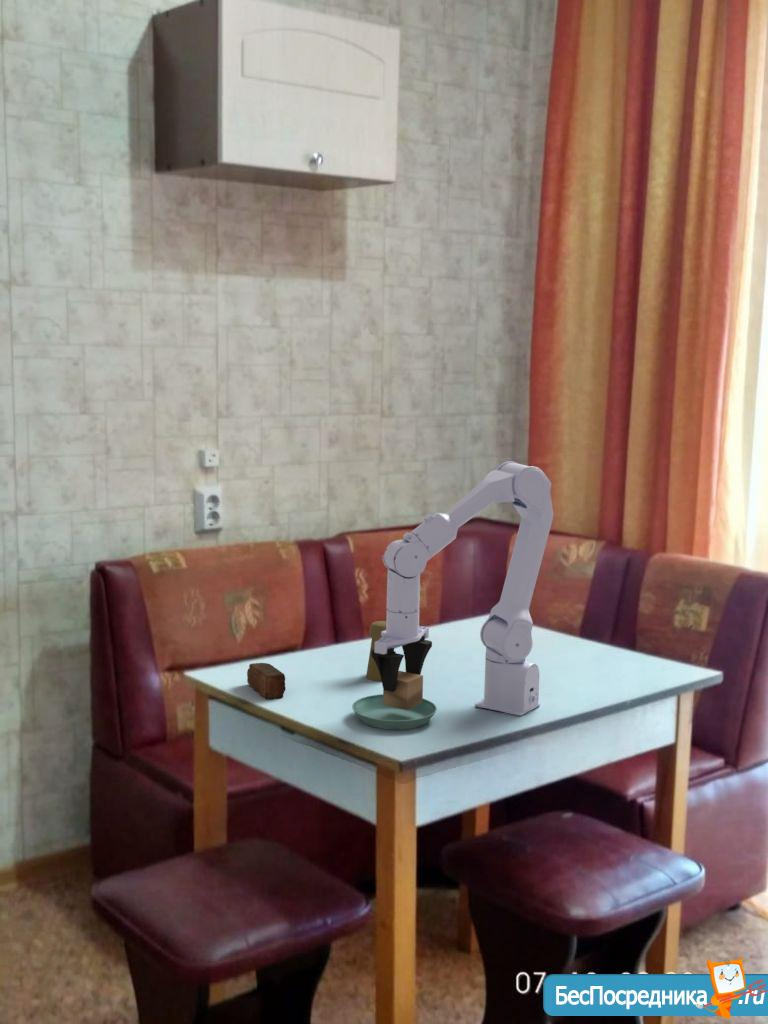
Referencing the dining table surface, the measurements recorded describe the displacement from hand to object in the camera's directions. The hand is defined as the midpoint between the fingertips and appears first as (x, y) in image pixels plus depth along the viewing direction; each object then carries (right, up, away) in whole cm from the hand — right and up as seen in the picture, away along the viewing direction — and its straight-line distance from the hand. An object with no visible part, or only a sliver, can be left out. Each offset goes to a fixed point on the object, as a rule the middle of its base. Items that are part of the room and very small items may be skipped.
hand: (401, 685), depth 208 cm
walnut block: (0, -3, 0) cm, 3 cm away
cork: (-4, -2, +24) cm, 25 cm away
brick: (-25, -3, +14) cm, 29 cm away
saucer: (-1, -6, -1) cm, 6 cm away
